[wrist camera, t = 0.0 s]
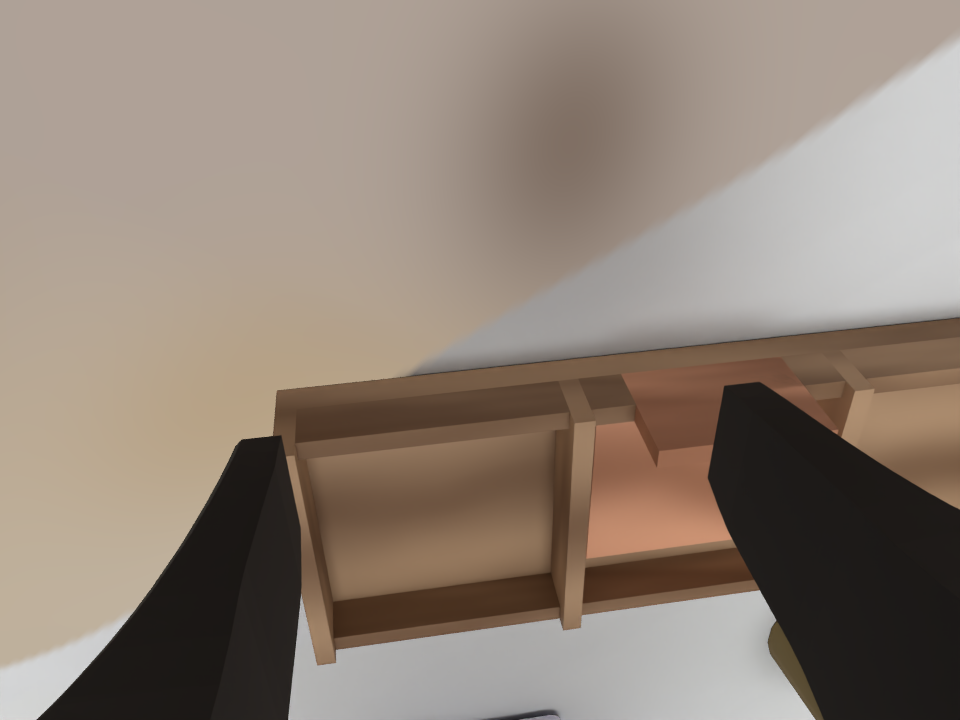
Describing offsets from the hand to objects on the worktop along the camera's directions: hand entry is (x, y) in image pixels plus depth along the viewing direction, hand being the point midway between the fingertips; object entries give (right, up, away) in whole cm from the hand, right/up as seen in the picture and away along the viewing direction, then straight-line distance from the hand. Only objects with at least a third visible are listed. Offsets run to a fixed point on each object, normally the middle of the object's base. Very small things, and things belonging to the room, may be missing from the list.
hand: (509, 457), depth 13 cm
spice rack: (+6, -2, +15) cm, 16 cm away
